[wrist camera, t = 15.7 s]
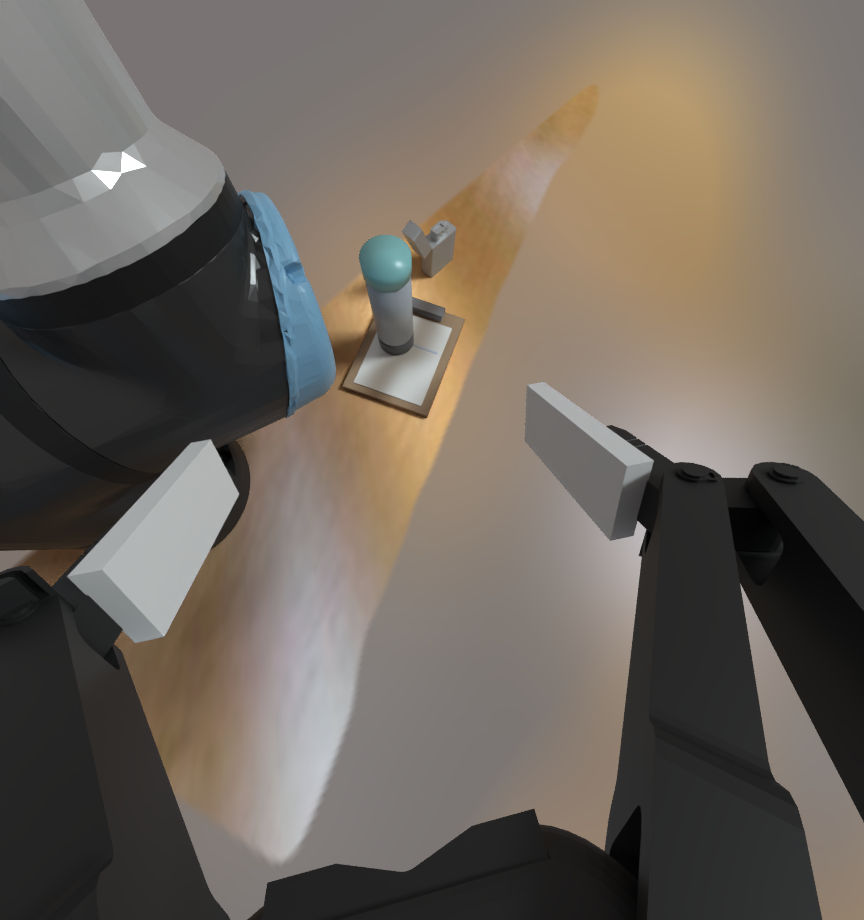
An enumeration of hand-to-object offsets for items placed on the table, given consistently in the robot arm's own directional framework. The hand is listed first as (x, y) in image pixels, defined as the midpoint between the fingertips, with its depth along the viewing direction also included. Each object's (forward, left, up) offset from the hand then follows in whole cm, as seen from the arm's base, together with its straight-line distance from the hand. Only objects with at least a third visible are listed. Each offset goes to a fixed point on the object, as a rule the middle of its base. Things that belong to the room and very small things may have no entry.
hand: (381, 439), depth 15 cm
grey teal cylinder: (-7, +17, -21) cm, 28 cm away
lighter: (-7, +28, -22) cm, 36 cm away
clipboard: (-6, +16, -22) cm, 28 cm away
